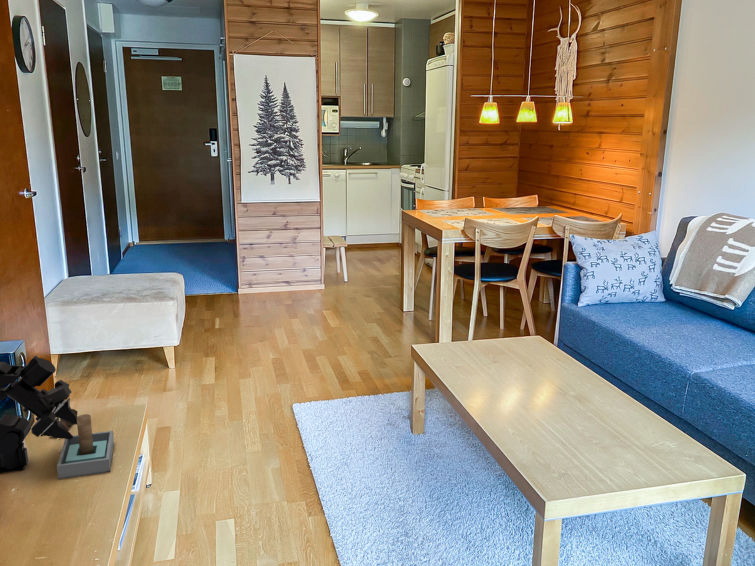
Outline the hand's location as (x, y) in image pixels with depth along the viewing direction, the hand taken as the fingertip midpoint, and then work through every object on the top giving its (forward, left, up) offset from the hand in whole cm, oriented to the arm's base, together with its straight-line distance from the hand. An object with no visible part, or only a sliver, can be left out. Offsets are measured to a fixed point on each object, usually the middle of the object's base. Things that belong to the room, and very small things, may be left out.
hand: (75, 430), depth 176 cm
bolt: (-6, +24, -10) cm, 27 cm away
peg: (+2, 0, -9) cm, 9 cm away
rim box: (+2, 0, -9) cm, 10 cm away
